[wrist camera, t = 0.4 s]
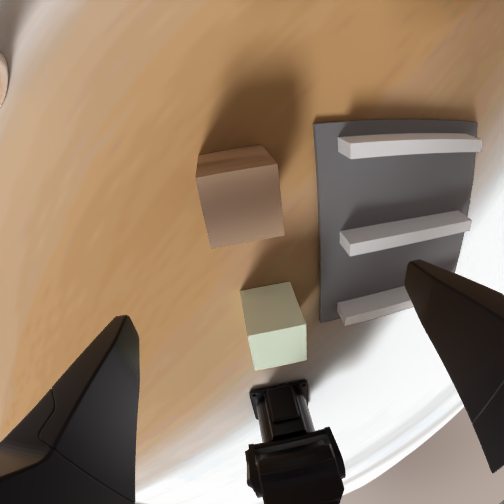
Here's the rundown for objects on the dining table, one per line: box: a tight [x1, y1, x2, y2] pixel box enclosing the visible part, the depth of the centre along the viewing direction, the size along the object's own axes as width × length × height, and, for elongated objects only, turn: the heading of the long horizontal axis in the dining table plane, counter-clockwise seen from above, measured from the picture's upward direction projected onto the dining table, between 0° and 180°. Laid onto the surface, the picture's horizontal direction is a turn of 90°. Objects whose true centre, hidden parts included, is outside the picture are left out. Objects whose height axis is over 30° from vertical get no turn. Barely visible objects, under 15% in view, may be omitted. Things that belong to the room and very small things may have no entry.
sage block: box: [240, 281, 307, 371], centre depth 24 cm, size 4×4×5 cm
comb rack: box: [313, 119, 482, 326], centre depth 22 cm, size 17×15×2 cm
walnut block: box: [196, 145, 285, 249], centre depth 18 cm, size 4×4×5 cm
